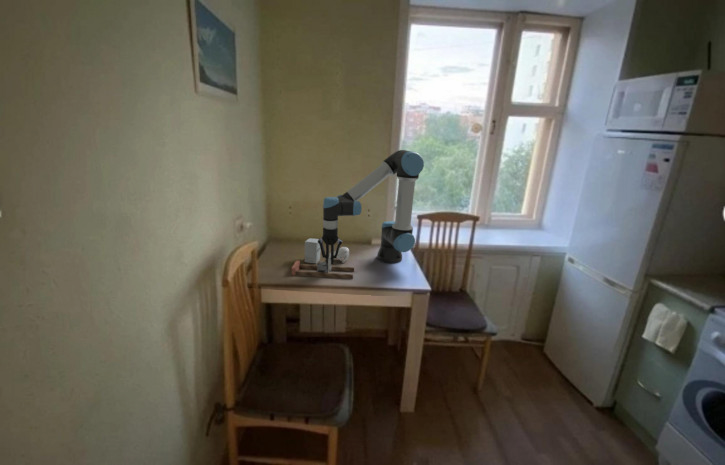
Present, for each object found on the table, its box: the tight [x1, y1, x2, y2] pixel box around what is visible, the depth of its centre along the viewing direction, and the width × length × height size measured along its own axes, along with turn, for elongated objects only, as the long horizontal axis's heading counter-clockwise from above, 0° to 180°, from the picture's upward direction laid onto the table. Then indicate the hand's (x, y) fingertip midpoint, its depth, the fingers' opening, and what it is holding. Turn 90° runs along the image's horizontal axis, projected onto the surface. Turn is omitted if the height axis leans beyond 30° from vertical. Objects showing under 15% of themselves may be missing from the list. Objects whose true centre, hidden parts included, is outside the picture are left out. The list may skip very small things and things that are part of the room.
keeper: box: [316, 261, 329, 273], centre depth 181 cm, size 6×6×5 cm
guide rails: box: [294, 263, 355, 280], centre depth 181 cm, size 30×10×2 cm, turn 87°
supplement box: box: [304, 238, 321, 265], centre depth 195 cm, size 7×7×13 cm
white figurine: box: [329, 246, 350, 264], centre depth 198 cm, size 6×8×12 cm
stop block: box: [291, 260, 301, 276], centre depth 181 cm, size 2×10×4 cm, turn 177°
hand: (329, 269), depth 181 cm, fingers closed
